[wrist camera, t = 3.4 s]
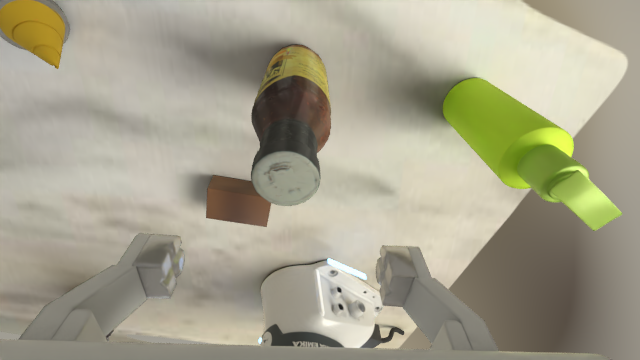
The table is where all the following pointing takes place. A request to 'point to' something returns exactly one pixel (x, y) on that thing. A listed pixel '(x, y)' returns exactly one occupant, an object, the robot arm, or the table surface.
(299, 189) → the sauce bottle
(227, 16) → the table surface
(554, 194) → the lime green necked cylinder
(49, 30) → the yellow tipped cone
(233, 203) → the plywood offcut
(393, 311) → the table surface
